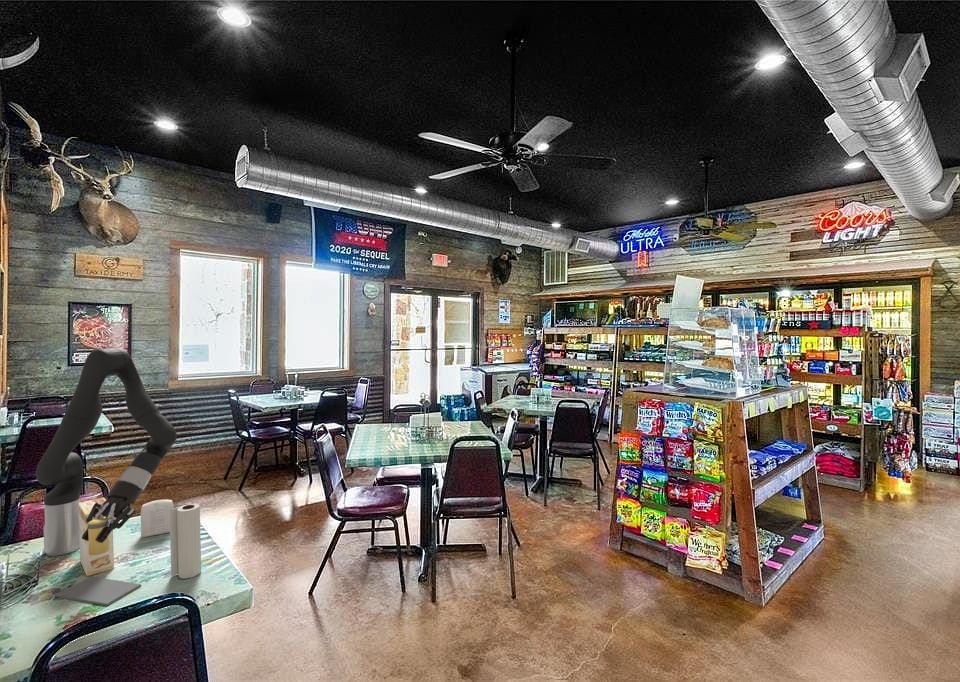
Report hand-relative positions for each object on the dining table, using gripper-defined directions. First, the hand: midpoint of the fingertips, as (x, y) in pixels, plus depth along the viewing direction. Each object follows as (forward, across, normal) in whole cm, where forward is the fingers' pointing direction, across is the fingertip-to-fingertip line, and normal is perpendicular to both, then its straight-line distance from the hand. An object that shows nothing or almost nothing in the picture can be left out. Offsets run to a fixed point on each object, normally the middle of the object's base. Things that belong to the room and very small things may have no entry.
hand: (91, 540), depth 134 cm
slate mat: (+10, 0, +13) cm, 16 cm away
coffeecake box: (+2, -17, +21) cm, 27 cm away
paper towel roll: (0, +17, +23) cm, 28 cm away
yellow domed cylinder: (+2, 0, +4) cm, 5 cm away
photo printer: (-14, -18, +38) cm, 44 cm away
